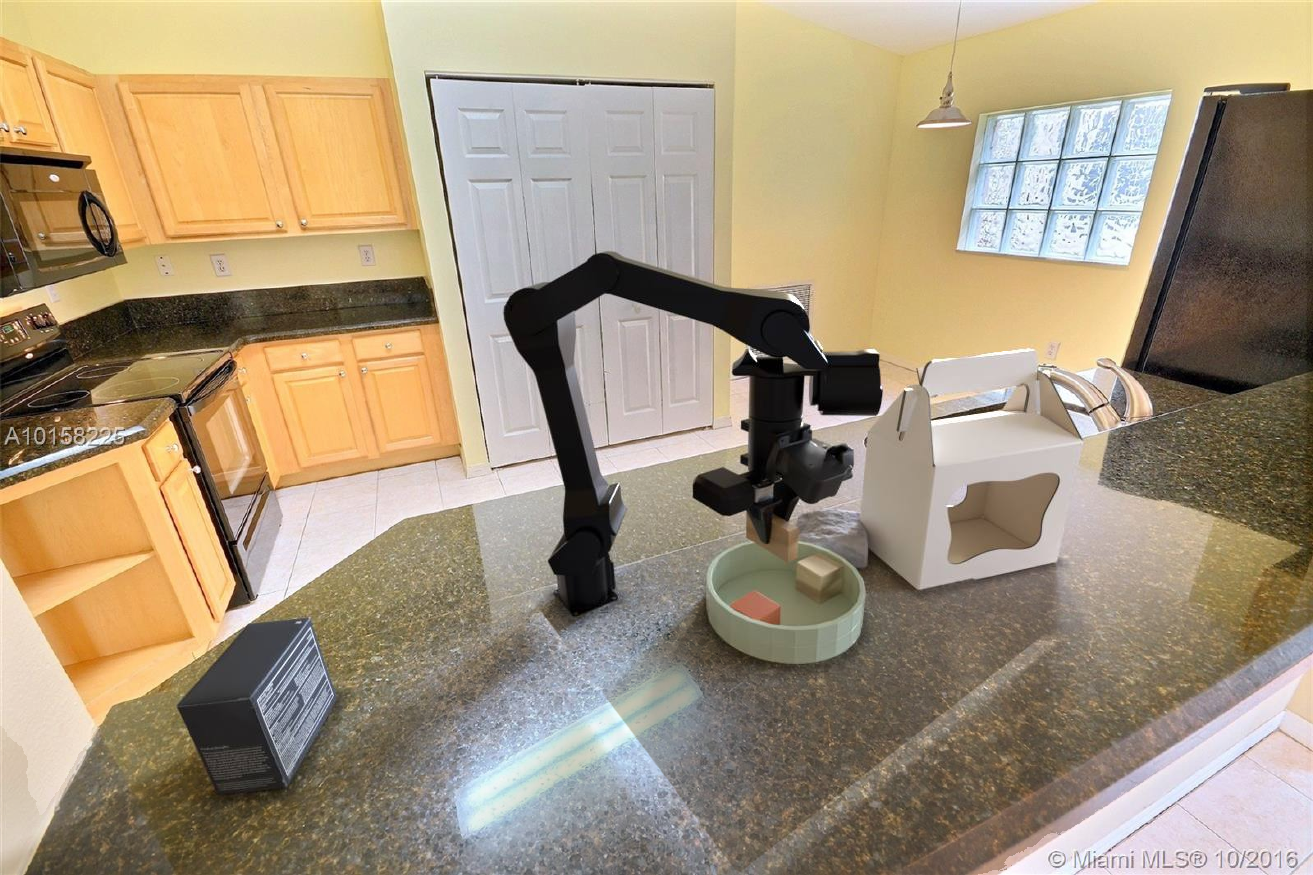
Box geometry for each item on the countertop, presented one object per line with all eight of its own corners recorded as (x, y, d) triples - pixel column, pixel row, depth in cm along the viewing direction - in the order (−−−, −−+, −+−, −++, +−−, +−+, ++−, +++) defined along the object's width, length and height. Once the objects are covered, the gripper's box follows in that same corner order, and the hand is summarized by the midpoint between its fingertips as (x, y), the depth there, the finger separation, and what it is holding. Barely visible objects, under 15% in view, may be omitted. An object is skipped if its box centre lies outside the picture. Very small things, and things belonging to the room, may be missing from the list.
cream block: (819, 604, 70) (821, 576, 69) (795, 589, 73) (796, 562, 72) (841, 593, 72) (844, 565, 71) (817, 578, 75) (819, 551, 74)
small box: (275, 703, 60) (246, 620, 56) (340, 697, 60) (315, 614, 57) (210, 797, 50) (169, 704, 46) (288, 789, 50) (253, 696, 47)
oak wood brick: (787, 563, 65) (788, 531, 63) (745, 537, 70) (746, 508, 69) (797, 558, 65) (799, 527, 64) (755, 533, 71) (756, 504, 70)
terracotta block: (756, 651, 63) (756, 621, 62) (729, 633, 66) (729, 604, 65) (779, 635, 65) (781, 605, 64) (753, 618, 68) (754, 589, 67)
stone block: (799, 580, 79) (875, 570, 76) (791, 549, 78) (868, 538, 75) (797, 538, 90) (864, 528, 87) (790, 510, 89) (858, 499, 86)
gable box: (983, 517, 89) (1014, 337, 79) (1059, 562, 77) (1106, 356, 67) (855, 542, 84) (871, 353, 75) (915, 594, 72) (944, 377, 63)
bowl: (780, 694, 58) (782, 654, 56) (677, 603, 73) (676, 569, 71) (895, 624, 67) (899, 588, 65) (783, 556, 82) (784, 525, 80)
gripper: (761, 456, 51) (757, 603, 56) (895, 414, 60) (880, 544, 66) (688, 424, 60) (690, 554, 65) (814, 392, 69) (807, 508, 75)
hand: (770, 540), depth 68 cm, fingers closed on oak wood brick, 1 cm apart
